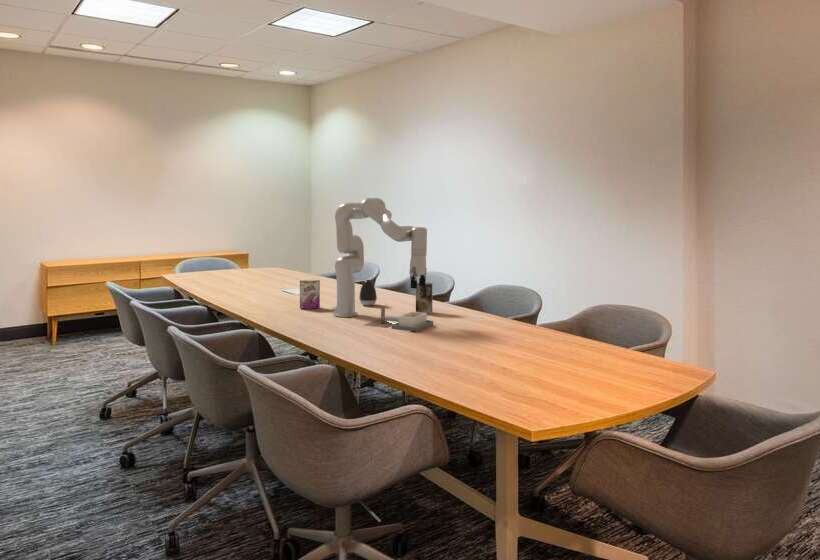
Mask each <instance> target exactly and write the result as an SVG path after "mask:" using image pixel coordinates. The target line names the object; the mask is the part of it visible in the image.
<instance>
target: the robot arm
mask: <svg viewBox="0 0 820 560" xmlns="http://www.w3.org/2000/svg"><path fill="white" fill-rule="evenodd" d="M392 216H393V214H392V212H391V211H390V210H389V209H387V208H386V203H385V202H384V200H383V199H381V198H379V197H368V198H365V199H363V200H362V201H361V202H347V203H342V204H340V205H339V206H338V207H337V208H336V210H335V214H334V221H335V228H336V230H335V231H336V232H335V233H336V248H337V251H338V252H339V253H340V254H343V255H345V254H348V255H346V256H340V257H339V258H337V259H336V261H335V264H334V271H335V274H336V306H332V307H331V311H335V312H333V316H335V317H336V318H337V317H339V318H352V317H357V316H358V315H359V313H358V311H356V291H355V289H356V287H355V286H356V285H355V284H356V283H355V278H354V276H353V275H354V274H357V273H360V272H361V271H362V270H363V268H364V267H365V266H364V265H365V253H364V251H365V249H364V242H363V239H362V237H360V236H359V235H356V234H354V233H353V229H354V228H353V225H352V223H351V220H362V219H367V218H368V219H369V218H370V219H371V220H372V221H374V222H375V223H377V224H378V225H379V226H380V228H381V231H382V232H383V233H384V234H385V235H386V236H388V237H389V238H390V239H392V240H394V241H395V242H399V243H401V242H410V241H411V243H410V244H411V245H410V246H411V247H410V248H411V249H410V261H409V277H410V279H409V280H410V289H414V290H416V289H417V283H419V286H425V283H426V281H427V280H426V278H427V270H428V269H427V250H428V249H427V243H428V228H426V227H422V226H412V225H402V226H401V225H398V224H397V223H396V222H394V221H393V220H392ZM418 278H419V280H418ZM418 281H419V282H418Z"/></svg>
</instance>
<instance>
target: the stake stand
mask: <svg viewBox="0 0 820 560" xmlns="http://www.w3.org/2000/svg"><path fill="white" fill-rule="evenodd" d="M385 320H386V308H380V319H376V320H374V321H371V322H368V323H365V324H363V326H367V327H373V328H374V327H375V328H384V329H387V328H390V327H391V325H393V324H392V323H389V322H387V321H385Z"/></svg>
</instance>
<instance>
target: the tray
mask: <svg viewBox="0 0 820 560" xmlns="http://www.w3.org/2000/svg"><path fill="white" fill-rule="evenodd" d="M431 325H432V326H434V320H431V319H427V323H425V324H422V325H420V326H418V327H408V326H399V322H398V323H396V324H393V325H391V326H390V327H391V330H392V329H394V330H401V331H409V332H410V333H419V332H421V331H423V330H426V329H428V328H429V326H430V327H432V326H431ZM427 327H428V328H427ZM425 328H426V329H425Z"/></svg>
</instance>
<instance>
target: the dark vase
mask: <svg viewBox="0 0 820 560" xmlns="http://www.w3.org/2000/svg"><path fill="white" fill-rule="evenodd" d="M358 283H359V284H361V287H360V291H359V297H358V298H359V302H360V304H361V305H363V306H364V305H365V306H364V307H372V306H374V305H375V304H376V301H377V300H378V298H377V290H376V287H375V285H374V283H373V281H372V280H371V279H365V280H364V281H361V280H359V282H358ZM371 305H372V306H371Z"/></svg>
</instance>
